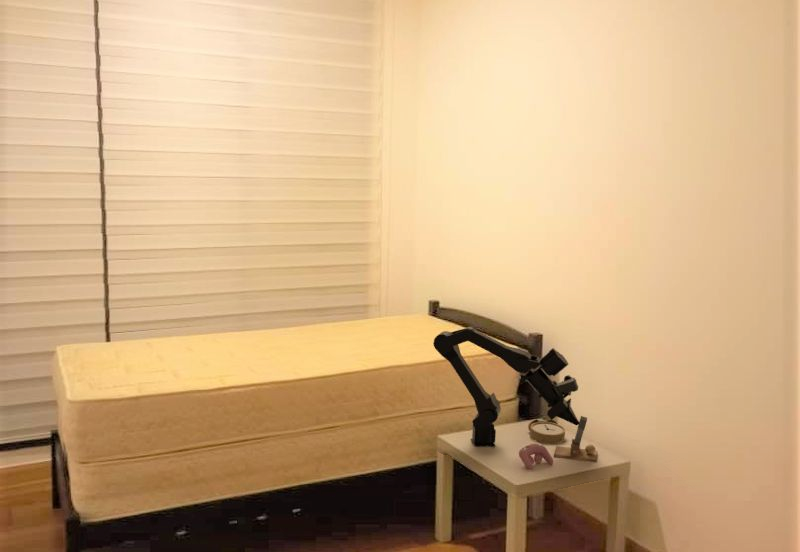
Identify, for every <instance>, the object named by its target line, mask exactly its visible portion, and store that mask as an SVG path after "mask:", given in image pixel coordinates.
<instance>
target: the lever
mask: <svg viewBox="0 0 800 552" xmlns="http://www.w3.org/2000/svg"><path fill="white" fill-rule="evenodd" d="M578 421H579V424H578V425H577V429H576V433H575V438H574V439H575V440H574V443H573V444H577V445H580V446H581V441H582V438H583V434H584V431H585V430H586V429H585V428H586V426H587V425H586V424H587V422H588V417H585V416H583V415H580V417H579V420H578Z"/></svg>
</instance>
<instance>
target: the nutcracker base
mask: <svg viewBox="0 0 800 552" xmlns="http://www.w3.org/2000/svg"><path fill="white" fill-rule="evenodd" d="M574 440H575V438H572V439H571V444H570V447H568V446H562V445H561V446H559V445H556V446H555V449H554V453H553V457H554V458H559V459H570V460H578V461H583V462H585V461H586V462H594V463H596V462H597V459H598V458H597V457H598V450H596V447H595V446H594V445H593V444H587V445H586V446H585V447H584V448H585V449H584V448H580V447H581V444H580V445H577V444H573V443H574Z"/></svg>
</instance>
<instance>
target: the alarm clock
mask: <svg viewBox="0 0 800 552" xmlns="http://www.w3.org/2000/svg"><path fill="white" fill-rule="evenodd" d="M528 431H529V437H530V438H531V439H532V440H533V439H534V440H533V441H535V440H536V441H535V442H538V441H539V443H543V442H545V444H559V443H563V442H564V441H565V434H566V429H565V427H564V426H563V425H560V424H559V423H558V422H557V421H556V420H555V419H552V420H551V419H550V418H549V419H548V420H539V419H536V418H535V419H531V420H530V421H529V423H528ZM558 442H559V443H558Z"/></svg>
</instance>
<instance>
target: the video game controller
mask: <svg viewBox="0 0 800 552" xmlns="http://www.w3.org/2000/svg"><path fill="white" fill-rule="evenodd" d="M518 451H519V452H518V456H519V458H520V459H521V461H522V463H523V465H524V467H525V468H526V469H527V470H530V471H531V470H532V469H533V465H534V463H536V464H540V463H542V461H543V460H544V461H545V462H546V463H547V464H548V465H551V466H552V465H553V464H554V458H553V456H552V455H551V454H550V452H549V451H548V449H547V448H546V446H544V444H543V443H541V444H540V443H539V444H537V443H532V444H528V445H526V446H524V447H522V448H521V449H520V450H518ZM532 455H533V456H534V457H533V456H532Z"/></svg>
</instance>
